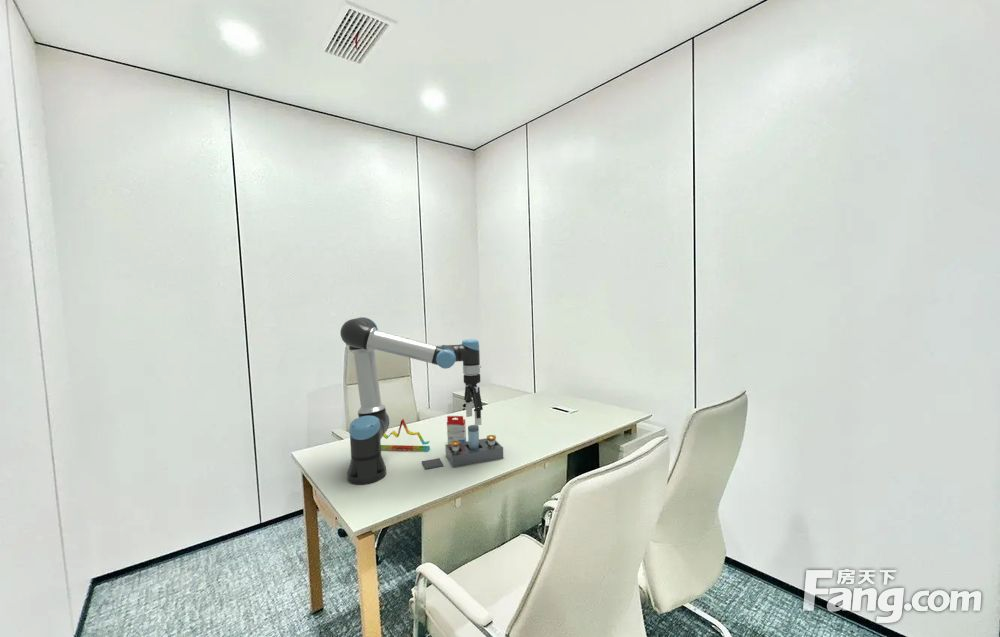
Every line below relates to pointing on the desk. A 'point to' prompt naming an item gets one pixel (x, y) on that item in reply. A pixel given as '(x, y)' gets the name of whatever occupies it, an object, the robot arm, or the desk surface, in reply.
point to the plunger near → (455, 446)
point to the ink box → (456, 429)
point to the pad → (432, 463)
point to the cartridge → (473, 437)
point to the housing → (474, 453)
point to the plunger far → (491, 440)
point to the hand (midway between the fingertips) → (473, 420)
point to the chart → (404, 447)
